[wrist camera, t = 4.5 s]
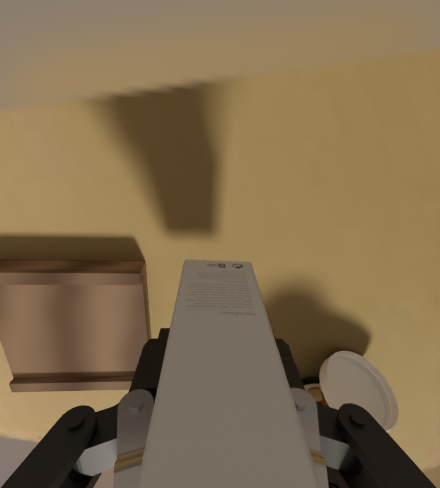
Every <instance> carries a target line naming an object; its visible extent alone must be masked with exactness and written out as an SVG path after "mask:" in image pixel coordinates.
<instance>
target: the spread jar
mask: <svg viewBox="0 0 440 488" xmlns="http://www.w3.org/2000/svg"><path fill="white" fill-rule="evenodd" d="M301 380H302V383H303V385H304V388H305V390H306V392H308V393H309V394H310V395H311V396H312V397H313V398H314V400H315V401H316V402H318V403H319V404H321V405H324V406H327V407H331V408H334V409H338V410H339V408H340V406H342V405H343V404H346V403H352V404H356V405H359V406H361V407H362V408H364V409H365V410H367V411H368V412H369V413H370V414H371V415H372V416H373V417H374V419H375V420H376V421H377V422H378V423H379V424H380V425H381V426H382V428H383V429H384V430H385V431H386V432H388V431H390V430H391V429H393V428H394V426H395V425H396V423H397V420H398V413H399V411H398V404H397V401H396V397H395V395H394V392H393V390H392V388H391V386H390V385H389V383H388V381H387V380H386V379H385V377H384V376H383V374H382V373H381V372H380V371H379V370H378V369H377V368H376V367H375V366H374V365H373V364H372V363H371V362H369V361H368V360H367V359H365V358H364V357H362V356H360V355H358V354H356V353H353V352H350V351H339V352H336V353H334V354H333V355H331V356H330V357H329V358H328V359H326V360H325V361H324V363H323V364H322V366H321V369H320V374H319V378H307V379H301ZM326 467H327V477H328V487H329V488H341V486H340V485H339V483H338V481H337V480H336V478H335V477H334V475H333V473H332V472H331V470H330V469H329V467H328V466H326Z"/></svg>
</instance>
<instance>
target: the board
mask: <svg viewBox="0 0 440 488" xmlns="http://www.w3.org/2000/svg"><path fill="white" fill-rule="evenodd" d="M149 339H151V329H150V316H149V302H148V289H147V275H146V262H145V261H68V260H0V340H1V343H2V346H3V349H4V352H5V354H6V357H7V360H8V363H9V366H10V369H11V372H12V375H13V380H12V381H11V382H10V384H9V385H10V388H11V391H12V392H41V391H85V390H128V389H130V387H131V383H132V380H133V377H134V374H135V371H136V368H137V365H138V361H139V358H140V356H141V352H142V349H143V346H144V345H145V344H146V342H147V341H148V340H149Z"/></svg>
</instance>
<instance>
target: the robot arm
mask: <svg viewBox="0 0 440 488" xmlns="http://www.w3.org/2000/svg"><path fill="white" fill-rule="evenodd" d="M169 331H170V328H161V329H160V333H159V337H158V339H149V340H148V341H147V342H146V344H145V345H144V346H143V349H142V352H141V356H140V358H139V361H138V365H137V368H136V371H135V374H134V377H133V380H132V383H131V387H130V390H129V392H128V393H127V394H126V395H125V396H124V397H123V398H122V399H121V400H120V402H119V403H118V404H117V405H115V406H113V407H110V408H108V409H104V410H101V411H98V412H95V411H94V409H93V408H91V407H90V406H84V405H83V406H77V407H75V408H72V409H70V410H69V411H67V412H66V413H65V414H63V415H62V417H61V418H60V419H59V420H58V421H57V422H56V423H55V425H54V426H53V427H52V428H51V429H50V430H49V432H48V433H47V434H46V435H45V436H44V438H43V439H42V440H41V441H40V442H39V443H38V445H37V446H36V447H35V448H34V449H33V450H32V452H31V453H30V454H29V455H28V456H27V457H26V459H25V460H24V461H23V462H22V463H21V465H20V466H19V467H18V468H17V469H16V470H15V472H14V473H13V474H12V475H11V476H10V477H9V479H8V480H7V481H6V482H5V483H4V485H3V486H2V487H1V488H93V487H94V485H95V483H96V482H97V480H98V479H99V477H100V475H101V473H102V472H104V471H106V470H109V469H111V468H114V488H137V484H138V479H139V474H140V469H141V464H142V460H143V455H144V450H145V445H146V440H147V436H148V431H149V426H150V421H151V417H152V412H153V407H154V403H155V398H156V393H157V388H158V384H159V379H160V374H161V369H162V365H163V360H164V355H165V350H166V346H167V341H168V336H169ZM272 332H273V331H272ZM273 336H274V334H273ZM274 339H275V337H274ZM275 342H276V345H277V348H278V351H279V354H280V358H281V361H282V364H283V367H284V371H285V374H286V377H287V381H288V384H289V387H290V390H291V394H292V397H293V400H294V403H295V406H296V409H297V412H298V415H299V419H300V422H301V425H302V428H303V431H304V434H305V437H306V441H307V444H308V447H309V450H310V454H311V457H312V460H313V464H314V467H315V471H316V474H317V478H318V481H319V485H320V488H329V487H328V477H327V467H326V466H328V467H329V469H330V470H331V472H332V473H333V475H334V477H335V478H336V480H337V481H338V483H339V485H340V486H341V488H436V487H435V486H434V485H433V483H431V481H430V480H429V479H428V478H427V477H426V476H425V475H424V473H423V472H422V471H421V470H420V469H419V468H418V467H417V466H416V464H415V463H414V462H413V461H412V460H411V459H410V458H409V457H408V455H407V454H406V453H405V452H404V451H403V450H402V449H401V448H400V447H399V445H398V444H397V443H396V442H395V441H394V440H393V439H392V438H391V436H390V435H389V434H388V433H387V432H386V431H385V430H384V429H383V428H382V426H381V425H380V424H379V423H378V422H377V421H376V420H375V419H374V417H373V416H372V415H371V414H370V413H369V412H368V411H367V410H365V409H364V408H362V407H361V406H359V405H356V404H352V403H346V404H343V405H342V406H340V408H339V410H338V409H334V408H331V407H327V406H324V405H321V404H319V403H318V402H316V401H315V400H314V398H313V397H312V396H311V395H310V394H309V393H308V392H306V390H305V388H304V385H303V383H302V380H301V377H300V375H299V372H298V369H297V367H296V364H295V361H294V359H293V356H292V353H291V351H290V348H289V346H288V345H287V344H286V343H285V342H284V340H283V339H275Z"/></svg>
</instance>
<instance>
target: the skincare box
mask: <svg viewBox="0 0 440 488" xmlns="http://www.w3.org/2000/svg"><path fill="white" fill-rule="evenodd" d="M137 488H320V485H319V481H318V478H317V474H316V471H315V467H314V464H313V460H312V457H311V454H310V450H309V447H308V444H307V441H306V437H305V434H304V431H303V428H302V425H301V422H300V419H299V415H298V412H297V409H296V406H295V403H294V400H293V397H292V394H291V390H290V387H289V384H288V381H287V377H286V374H285V371H284V367H283V364H282V361H281V358H280V354H279V351H278V348H277V345H276V342H275V339H274V336H273V332H272V329H271V326H270V323H269V320H268V316H267V313H266V310H265V306H264V303H263V300H262V296H261V293H260V290H259V287H258V283H257V280H256V277H255V274H254V271H253V267H252V264H251V263H250V262H237V261H209V260H185V261H184V265H183V270H182V274H181V279H180V284H179V289H178V294H177V298H176V303H175V308H174V312H173V317H172V321H171V326H170V331H169V336H168V341H167V346H166V350H165V355H164V360H163V365H162V369H161V374H160V379H159V384H158V388H157V393H156V398H155V403H154V407H153V412H152V417H151V421H150V426H149V431H148V436H147V440H146V445H145V450H144V455H143V460H142V464H141V469H140V474H139V479H138V484H137Z"/></svg>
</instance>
